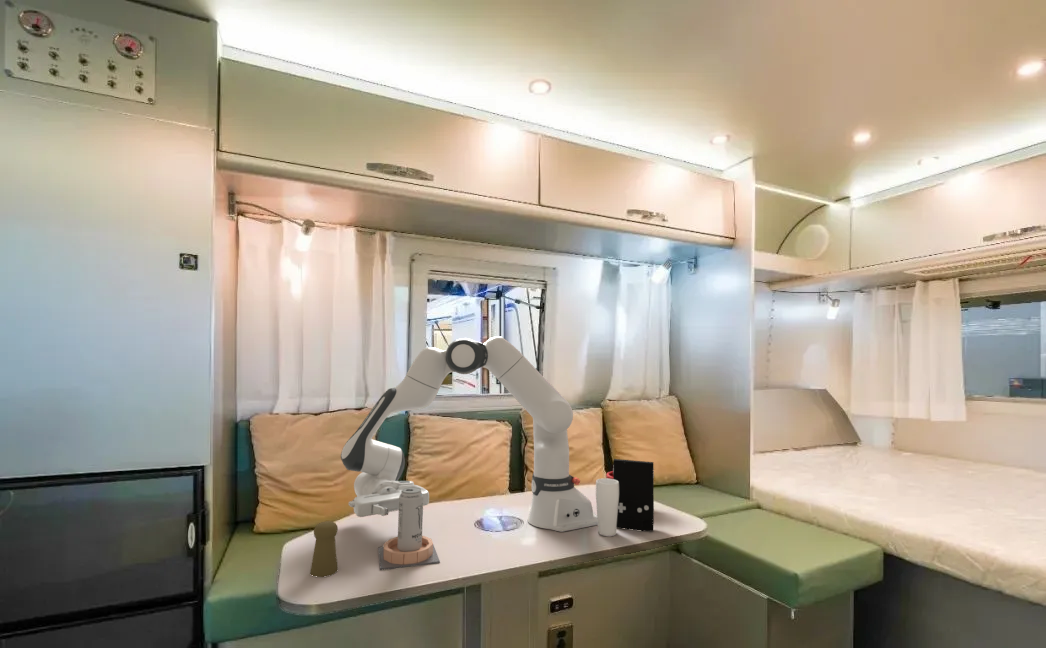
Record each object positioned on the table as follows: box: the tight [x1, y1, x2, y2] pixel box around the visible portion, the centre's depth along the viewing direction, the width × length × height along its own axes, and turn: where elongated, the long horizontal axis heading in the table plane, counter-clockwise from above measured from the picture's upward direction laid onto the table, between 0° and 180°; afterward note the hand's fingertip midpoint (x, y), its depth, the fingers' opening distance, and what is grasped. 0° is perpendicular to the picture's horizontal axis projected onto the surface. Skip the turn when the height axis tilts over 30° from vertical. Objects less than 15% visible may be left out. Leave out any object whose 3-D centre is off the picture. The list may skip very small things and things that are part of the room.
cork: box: [309, 521, 339, 578], centre depth 112 cm, size 6×6×11 cm
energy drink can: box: [397, 487, 424, 552], centre depth 122 cm, size 6×6×15 cm
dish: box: [377, 535, 441, 571], centre depth 121 cm, size 14×13×3 cm
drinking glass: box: [595, 477, 619, 537], centre depth 139 cm, size 7×7×15 cm
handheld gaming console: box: [612, 458, 655, 532], centre depth 145 cm, size 12×5×20 cm, turn 72°
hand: (403, 509), depth 125 cm, fingers open, 8 cm apart
